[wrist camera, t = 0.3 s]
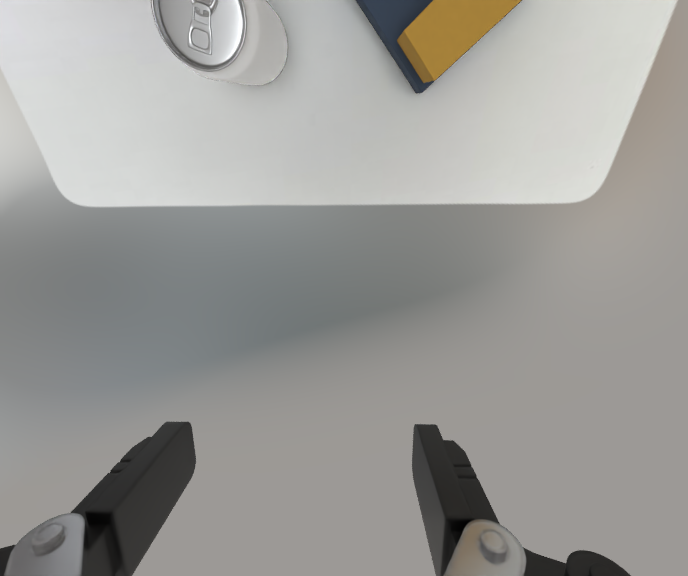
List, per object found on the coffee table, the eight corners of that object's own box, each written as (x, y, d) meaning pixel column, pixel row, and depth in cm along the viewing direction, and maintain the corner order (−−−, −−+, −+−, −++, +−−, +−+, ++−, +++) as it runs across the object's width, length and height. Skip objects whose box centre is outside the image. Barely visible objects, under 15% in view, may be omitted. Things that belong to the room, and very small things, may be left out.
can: (295, 13, 28) (261, -37, 18) (281, 95, 31) (245, 94, 21) (221, -15, 27) (140, -85, 17) (215, 72, 30) (143, 59, 20)
